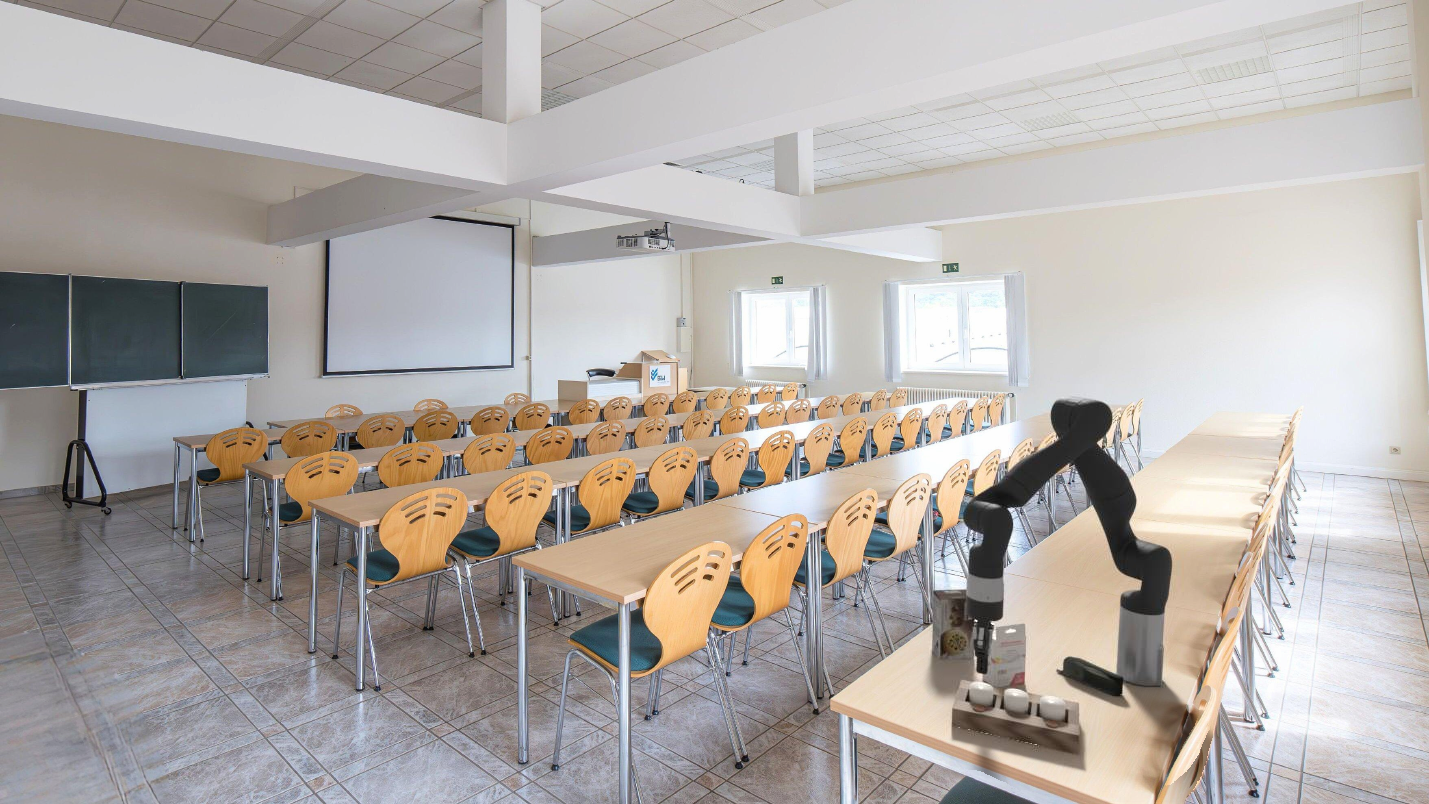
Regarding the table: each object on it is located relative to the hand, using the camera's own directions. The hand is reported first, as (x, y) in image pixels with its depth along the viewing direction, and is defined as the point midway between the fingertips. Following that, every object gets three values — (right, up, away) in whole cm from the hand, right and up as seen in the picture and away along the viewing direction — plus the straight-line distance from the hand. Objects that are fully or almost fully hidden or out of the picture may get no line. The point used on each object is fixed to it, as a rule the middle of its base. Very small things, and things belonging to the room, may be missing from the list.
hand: (981, 672), depth 158 cm
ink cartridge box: (+11, -9, +17) cm, 22 cm away
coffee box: (+4, -7, +31) cm, 32 cm away
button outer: (0, -7, +1) cm, 7 cm away
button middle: (+6, -8, -2) cm, 10 cm away
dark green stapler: (+31, -9, +16) cm, 36 cm away
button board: (+6, -10, -2) cm, 12 cm away
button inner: (+13, -8, -5) cm, 16 cm away
